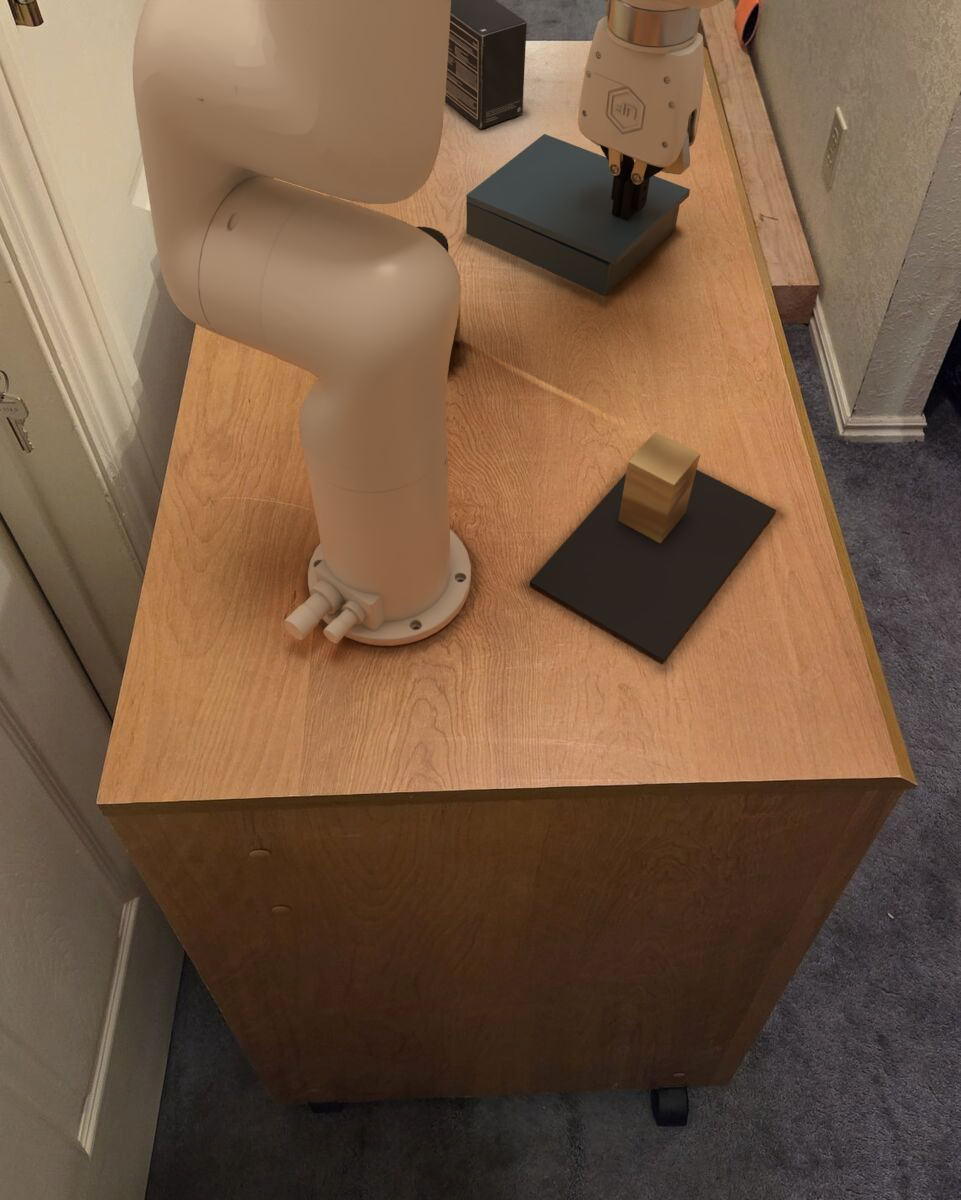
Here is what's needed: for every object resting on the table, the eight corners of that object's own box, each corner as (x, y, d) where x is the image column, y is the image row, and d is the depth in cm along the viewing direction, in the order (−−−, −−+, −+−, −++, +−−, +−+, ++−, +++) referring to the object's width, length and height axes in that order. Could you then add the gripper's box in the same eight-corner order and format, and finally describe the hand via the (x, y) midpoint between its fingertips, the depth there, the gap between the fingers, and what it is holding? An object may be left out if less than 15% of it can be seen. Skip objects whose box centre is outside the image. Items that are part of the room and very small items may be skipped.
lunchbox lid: (689, 196, 103) (690, 189, 102) (615, 265, 97) (616, 258, 96) (544, 140, 109) (544, 133, 109) (466, 201, 103) (466, 194, 102)
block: (660, 544, 83) (674, 485, 77) (617, 521, 84) (628, 461, 78) (685, 513, 84) (700, 453, 79) (643, 491, 86) (655, 430, 80)
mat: (662, 664, 77) (663, 659, 76) (529, 585, 81) (529, 581, 80) (774, 514, 85) (776, 509, 85) (649, 450, 89) (650, 445, 89)
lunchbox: (674, 234, 107) (681, 197, 104) (603, 302, 101) (608, 265, 97) (541, 178, 113) (543, 141, 109) (466, 239, 106) (466, 202, 103)
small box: (527, 114, 120) (531, 20, 112) (480, 131, 118) (481, 37, 109) (475, 74, 125) (475, -19, 117) (430, 90, 123) (426, -3, 115)
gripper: (552, 4, 86) (541, 202, 101) (711, 60, 81) (674, 259, 96) (601, -30, 90) (583, 166, 105) (756, 22, 85) (714, 220, 99)
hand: (627, 210), depth 100 cm, fingers closed
